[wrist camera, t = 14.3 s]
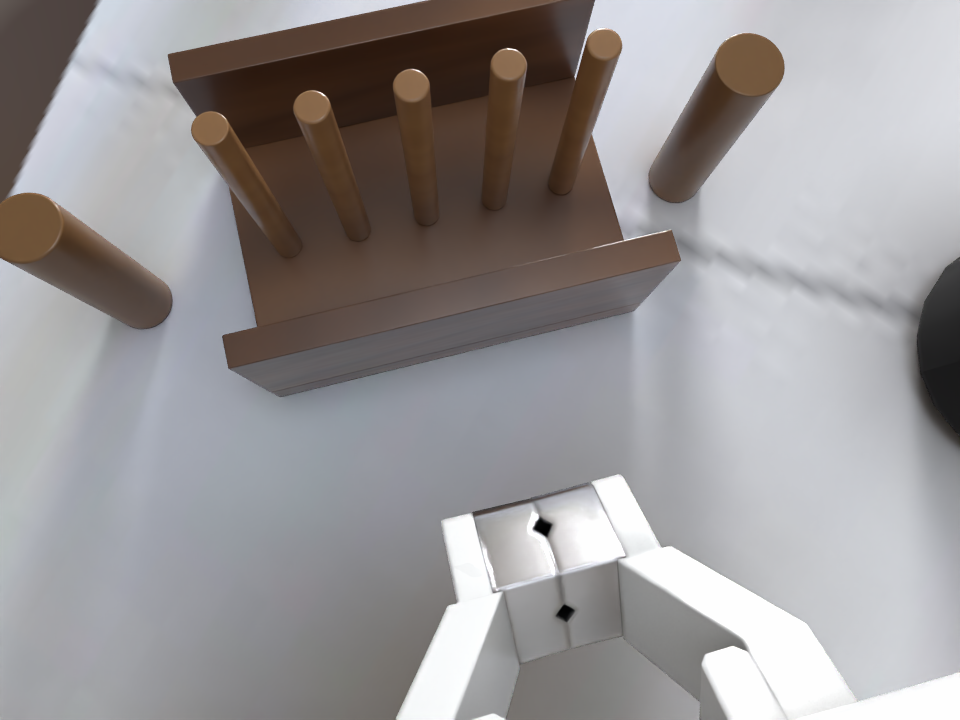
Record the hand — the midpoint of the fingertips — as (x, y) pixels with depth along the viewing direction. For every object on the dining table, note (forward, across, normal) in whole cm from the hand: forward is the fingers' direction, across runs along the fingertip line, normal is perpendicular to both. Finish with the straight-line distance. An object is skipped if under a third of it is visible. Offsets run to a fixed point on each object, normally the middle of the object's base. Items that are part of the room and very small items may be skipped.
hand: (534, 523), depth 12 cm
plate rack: (+22, 0, +4) cm, 23 cm away
